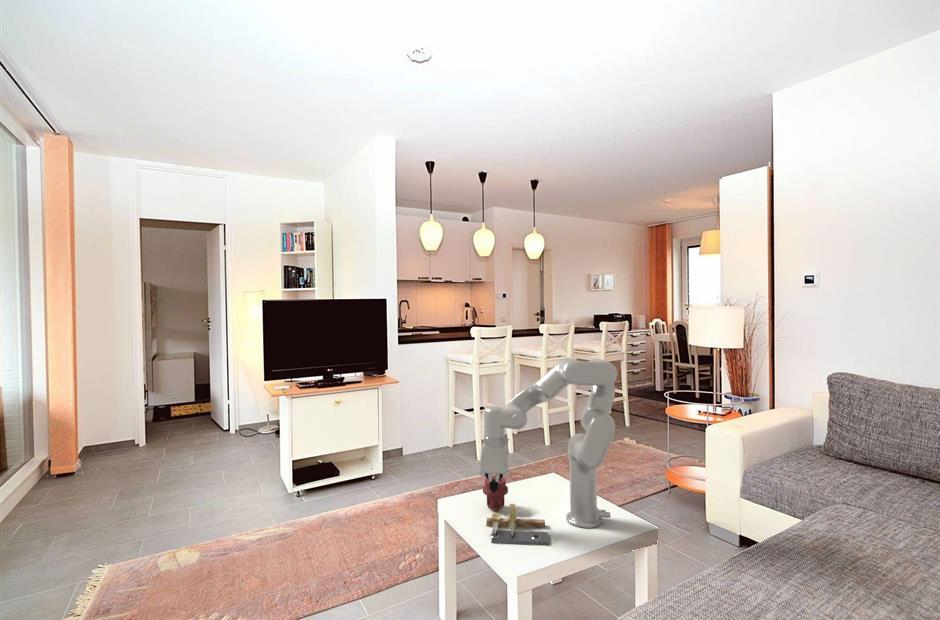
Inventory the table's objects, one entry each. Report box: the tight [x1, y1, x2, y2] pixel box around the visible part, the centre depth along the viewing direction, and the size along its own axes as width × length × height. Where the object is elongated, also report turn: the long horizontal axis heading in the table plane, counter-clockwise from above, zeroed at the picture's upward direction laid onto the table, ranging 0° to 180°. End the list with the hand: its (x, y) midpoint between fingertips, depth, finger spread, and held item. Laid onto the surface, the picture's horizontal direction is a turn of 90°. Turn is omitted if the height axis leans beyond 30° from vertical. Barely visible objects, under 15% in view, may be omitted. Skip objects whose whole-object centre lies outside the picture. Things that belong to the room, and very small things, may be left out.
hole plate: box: [489, 529, 550, 546], centre depth 156 cm, size 20×7×1 cm, turn 84°
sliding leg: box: [508, 503, 518, 536], centre depth 161 cm, size 3×13×7 cm, turn 174°
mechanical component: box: [482, 475, 509, 513], centre depth 180 cm, size 12×10×10 cm
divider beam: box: [485, 512, 546, 536], centre depth 161 cm, size 21×13×3 cm, turn 84°
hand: (493, 491), depth 166 cm, fingers closed
